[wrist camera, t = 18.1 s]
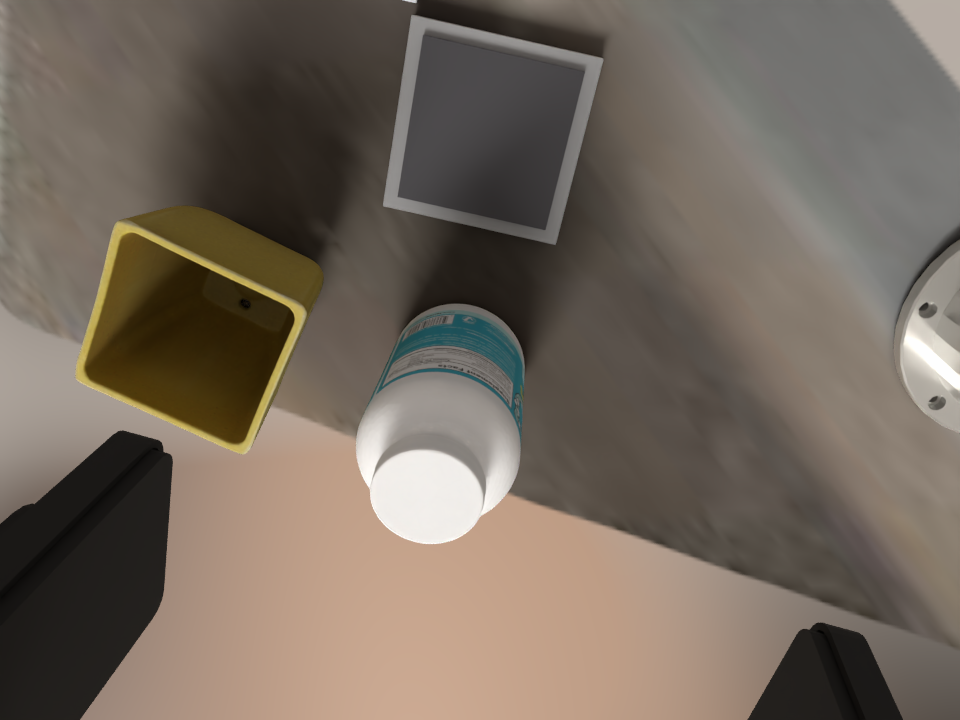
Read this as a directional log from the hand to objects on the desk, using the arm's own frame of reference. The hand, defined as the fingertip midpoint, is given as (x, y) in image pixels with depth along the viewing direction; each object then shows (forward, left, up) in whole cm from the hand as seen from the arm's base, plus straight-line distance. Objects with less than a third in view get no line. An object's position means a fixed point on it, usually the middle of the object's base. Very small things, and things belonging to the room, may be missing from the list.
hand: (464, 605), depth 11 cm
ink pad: (+2, -2, -30) cm, 30 cm away
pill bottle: (+1, +10, -30) cm, 32 cm away
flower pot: (+13, +8, -30) cm, 34 cm away
